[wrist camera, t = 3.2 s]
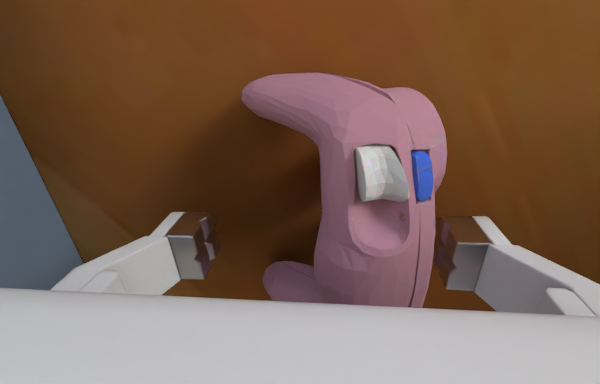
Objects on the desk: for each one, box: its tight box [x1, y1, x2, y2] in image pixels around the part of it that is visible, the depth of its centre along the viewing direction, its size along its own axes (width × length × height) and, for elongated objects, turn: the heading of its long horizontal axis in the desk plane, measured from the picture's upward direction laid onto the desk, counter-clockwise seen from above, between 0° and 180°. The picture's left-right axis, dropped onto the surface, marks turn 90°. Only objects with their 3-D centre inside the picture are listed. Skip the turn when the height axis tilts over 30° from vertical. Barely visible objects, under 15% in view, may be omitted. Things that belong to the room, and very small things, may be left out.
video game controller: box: [242, 73, 447, 308], centre depth 10 cm, size 10×5×7 cm, turn 1°
